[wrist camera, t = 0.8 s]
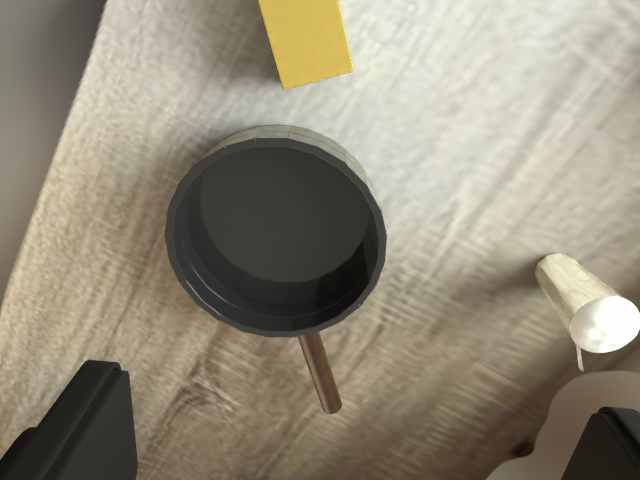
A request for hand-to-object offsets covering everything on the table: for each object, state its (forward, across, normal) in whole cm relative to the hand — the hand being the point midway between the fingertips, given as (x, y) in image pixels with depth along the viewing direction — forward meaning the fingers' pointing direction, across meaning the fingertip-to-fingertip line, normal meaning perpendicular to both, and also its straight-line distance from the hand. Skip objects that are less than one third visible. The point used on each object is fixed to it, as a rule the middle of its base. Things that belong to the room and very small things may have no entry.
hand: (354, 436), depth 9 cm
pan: (+28, +4, +8) cm, 29 cm away
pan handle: (+26, -1, +19) cm, 32 cm away
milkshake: (+28, -20, +10) cm, 36 cm away
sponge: (+28, +3, -8) cm, 29 cm away
